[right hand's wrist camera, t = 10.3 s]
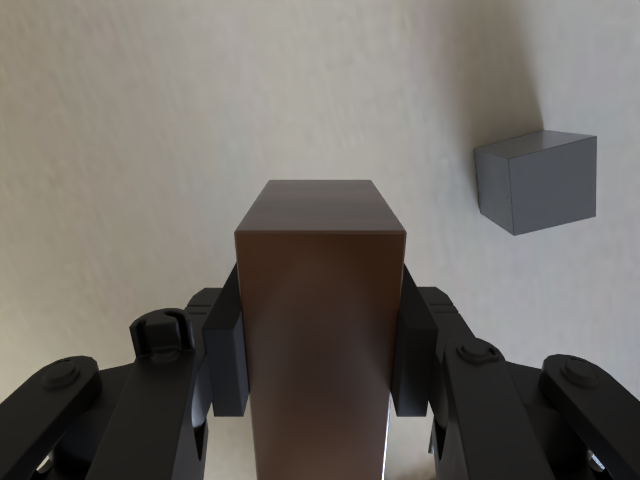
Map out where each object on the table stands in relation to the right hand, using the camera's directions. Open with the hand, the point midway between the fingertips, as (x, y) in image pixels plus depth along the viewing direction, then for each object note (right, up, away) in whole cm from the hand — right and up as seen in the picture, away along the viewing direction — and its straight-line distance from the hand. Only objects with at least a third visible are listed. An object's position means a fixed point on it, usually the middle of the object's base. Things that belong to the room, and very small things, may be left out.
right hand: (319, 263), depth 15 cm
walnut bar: (0, -8, +3) cm, 9 cm away
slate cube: (+14, +6, +11) cm, 19 cm away
